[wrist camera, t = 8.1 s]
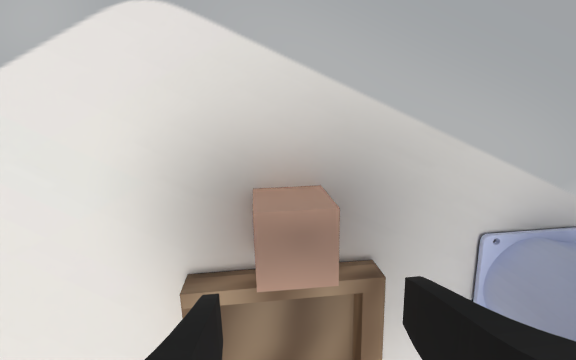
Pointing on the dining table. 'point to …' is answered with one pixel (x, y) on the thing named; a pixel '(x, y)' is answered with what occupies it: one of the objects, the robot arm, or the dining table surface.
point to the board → (297, 315)
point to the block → (295, 238)
